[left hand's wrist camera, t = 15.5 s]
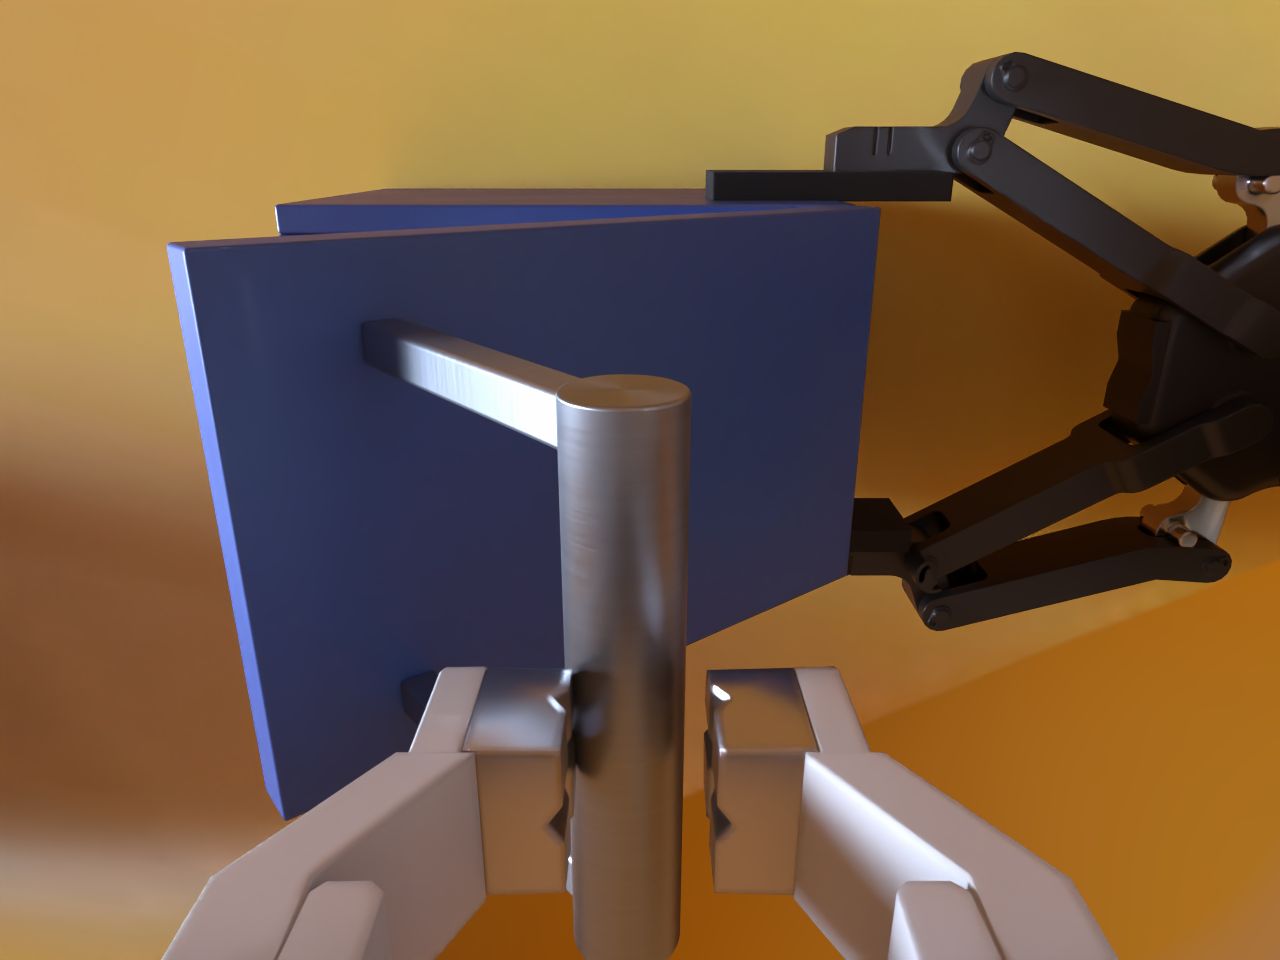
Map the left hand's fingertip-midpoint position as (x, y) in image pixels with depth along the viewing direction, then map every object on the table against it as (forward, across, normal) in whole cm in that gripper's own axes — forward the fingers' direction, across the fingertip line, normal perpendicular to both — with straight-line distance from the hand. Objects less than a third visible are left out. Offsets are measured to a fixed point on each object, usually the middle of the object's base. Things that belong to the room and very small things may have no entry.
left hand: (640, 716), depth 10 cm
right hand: (+18, -2, 0) cm, 18 cm away
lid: (+9, +1, 0) cm, 9 cm away
